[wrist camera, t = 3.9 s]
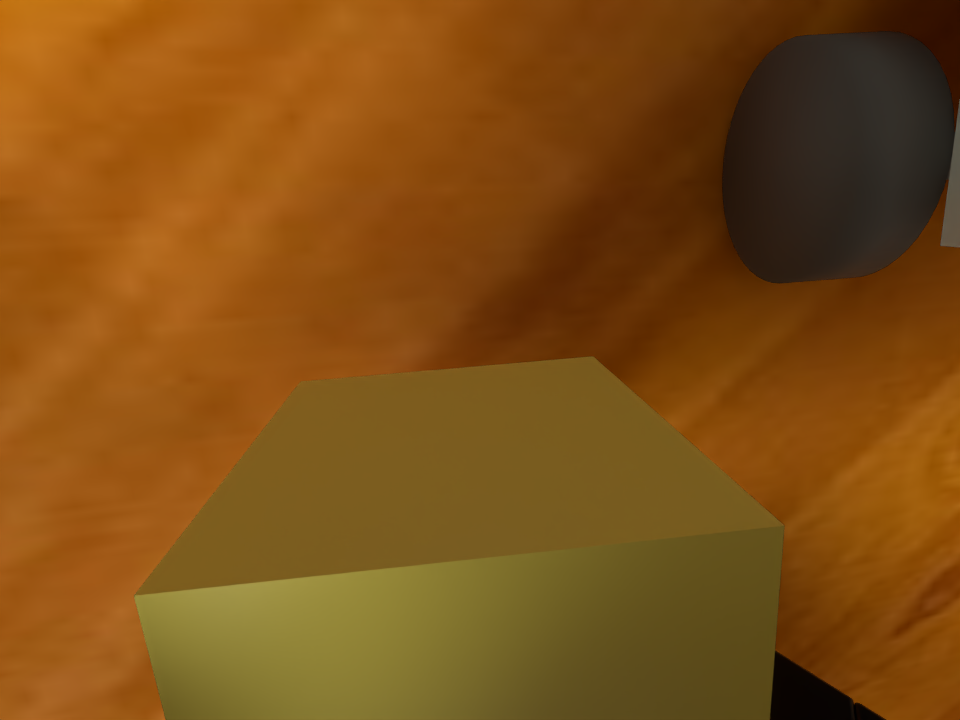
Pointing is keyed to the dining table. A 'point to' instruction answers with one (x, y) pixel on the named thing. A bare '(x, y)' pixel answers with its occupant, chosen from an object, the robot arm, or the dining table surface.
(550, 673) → the chock
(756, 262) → the trolley
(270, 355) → the dining table surface
